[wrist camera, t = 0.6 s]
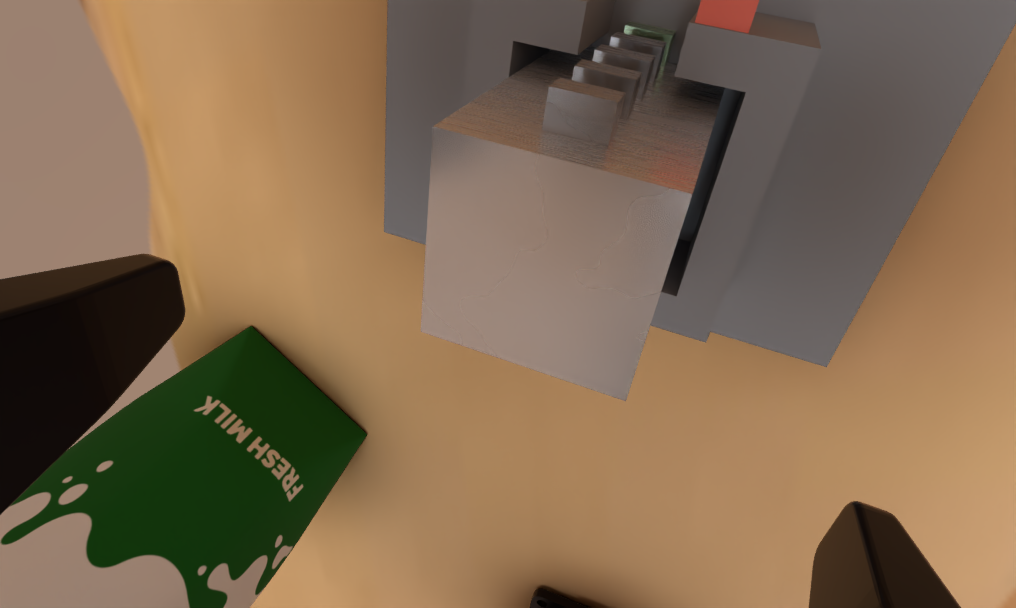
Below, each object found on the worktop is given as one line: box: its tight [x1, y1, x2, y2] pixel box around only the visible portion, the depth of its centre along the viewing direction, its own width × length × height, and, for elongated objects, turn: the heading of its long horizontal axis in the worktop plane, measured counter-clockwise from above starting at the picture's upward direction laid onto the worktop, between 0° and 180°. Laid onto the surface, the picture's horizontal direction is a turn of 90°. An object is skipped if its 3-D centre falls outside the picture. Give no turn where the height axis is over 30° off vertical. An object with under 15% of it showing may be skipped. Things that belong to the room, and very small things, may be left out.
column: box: [421, 21, 725, 401], centre depth 13 cm, size 5×4×8 cm
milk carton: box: [0, 326, 367, 608], centre depth 22 cm, size 9×9×20 cm
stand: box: [384, 0, 1016, 367], centre depth 16 cm, size 10×14×4 cm
